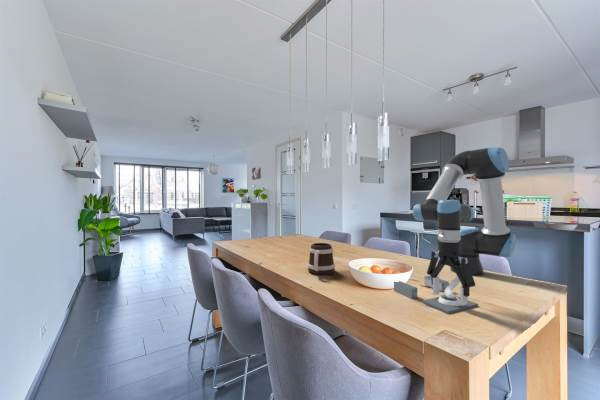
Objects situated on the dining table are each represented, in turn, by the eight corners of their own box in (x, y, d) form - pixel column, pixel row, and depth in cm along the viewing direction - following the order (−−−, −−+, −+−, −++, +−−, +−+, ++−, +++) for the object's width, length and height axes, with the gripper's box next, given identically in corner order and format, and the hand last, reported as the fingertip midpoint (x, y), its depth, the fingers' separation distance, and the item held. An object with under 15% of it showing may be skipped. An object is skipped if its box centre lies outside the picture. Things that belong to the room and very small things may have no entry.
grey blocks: (429, 284, 125) (429, 275, 125) (448, 291, 115) (448, 281, 115) (393, 290, 116) (393, 281, 116) (411, 298, 107) (411, 288, 107)
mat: (451, 296, 110) (450, 294, 110) (478, 306, 99) (478, 303, 99) (421, 302, 103) (421, 300, 103) (447, 313, 93) (447, 311, 93)
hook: (479, 291, 97) (466, 282, 96) (457, 316, 99) (444, 307, 97) (465, 281, 104) (452, 272, 103) (445, 304, 106) (432, 296, 104)
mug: (311, 267, 158) (311, 241, 158) (337, 269, 153) (337, 242, 153) (301, 276, 139) (301, 247, 139) (330, 279, 134) (329, 249, 134)
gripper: (416, 237, 110) (417, 290, 111) (472, 246, 89) (473, 312, 89) (430, 236, 113) (430, 288, 113) (487, 244, 92) (487, 308, 92)
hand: (449, 299), depth 101 cm, fingers open, 11 cm apart
